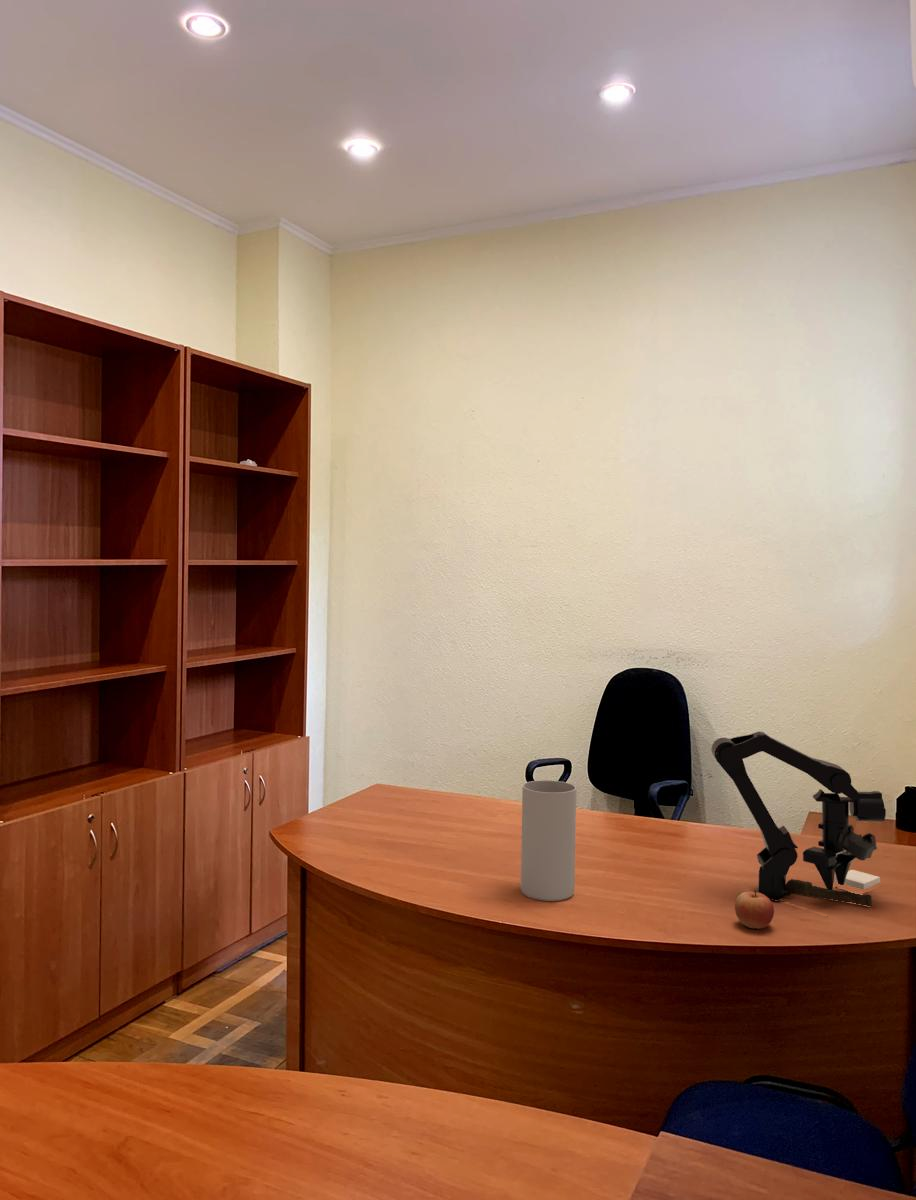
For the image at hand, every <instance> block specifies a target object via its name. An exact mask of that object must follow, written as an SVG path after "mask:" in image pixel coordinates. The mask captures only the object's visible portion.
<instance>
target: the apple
mask: <svg viewBox="0 0 916 1200" xmlns="http://www.w3.org/2000/svg"><path fill="white" fill-rule="evenodd" d="M756 890H758V888H754V890H753V891H755V892H753V891H743V892H742V893H740V894H739V895H738V896H737V898H736V900H735V902H734V911H735V914H736V917H737V919H738V921H740V923H741V924H742V925H744V926H746V927H747V928H749V929H755V928H756V929H757V930H758V929H764V928H766V927H767V926H769V924H770V923H771V922H772V921H773V918H774V915H775V907H774V905H773V902H772V900H770V899H769V898H768V897H767V896H765V895H763V894H761V893H758V892H756Z"/></svg>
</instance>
